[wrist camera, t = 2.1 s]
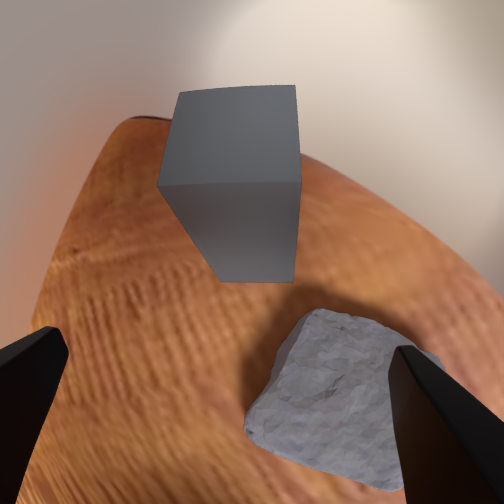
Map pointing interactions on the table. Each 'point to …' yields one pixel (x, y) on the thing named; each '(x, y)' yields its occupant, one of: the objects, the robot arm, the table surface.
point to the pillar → (237, 179)
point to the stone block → (333, 399)
